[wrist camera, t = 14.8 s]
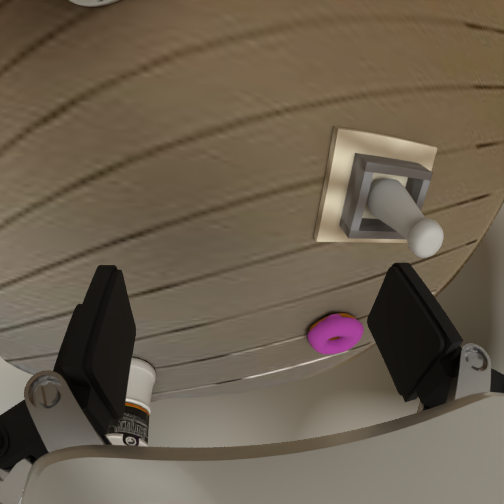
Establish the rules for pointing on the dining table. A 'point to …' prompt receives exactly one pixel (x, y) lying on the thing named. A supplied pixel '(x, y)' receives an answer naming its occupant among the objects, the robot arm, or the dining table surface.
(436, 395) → the robot arm
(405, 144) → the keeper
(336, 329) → the donut
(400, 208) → the salt shaker
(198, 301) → the dining table surface
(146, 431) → the vodka
